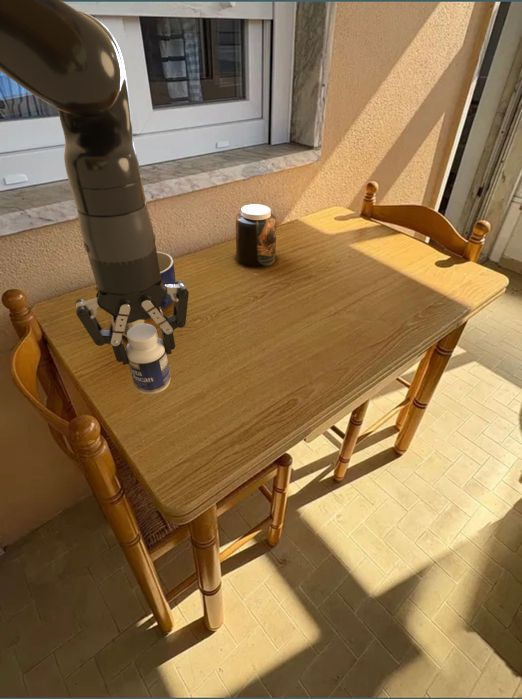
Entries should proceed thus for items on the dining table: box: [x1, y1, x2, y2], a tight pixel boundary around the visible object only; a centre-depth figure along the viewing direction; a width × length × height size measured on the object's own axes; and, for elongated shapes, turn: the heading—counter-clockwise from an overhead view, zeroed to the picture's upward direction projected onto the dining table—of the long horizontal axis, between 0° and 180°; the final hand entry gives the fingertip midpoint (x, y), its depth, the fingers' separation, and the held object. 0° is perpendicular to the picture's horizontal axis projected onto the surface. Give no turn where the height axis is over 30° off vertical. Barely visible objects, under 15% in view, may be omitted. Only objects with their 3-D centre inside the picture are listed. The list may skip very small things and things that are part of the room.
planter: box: [157, 251, 177, 310], centre depth 94 cm, size 12×12×11 cm
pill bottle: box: [125, 323, 171, 395], centre depth 55 cm, size 5×5×10 cm
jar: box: [235, 203, 277, 269], centre depth 111 cm, size 12×12×15 cm
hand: (146, 355), depth 54 cm, fingers closed on pill bottle, 5 cm apart
